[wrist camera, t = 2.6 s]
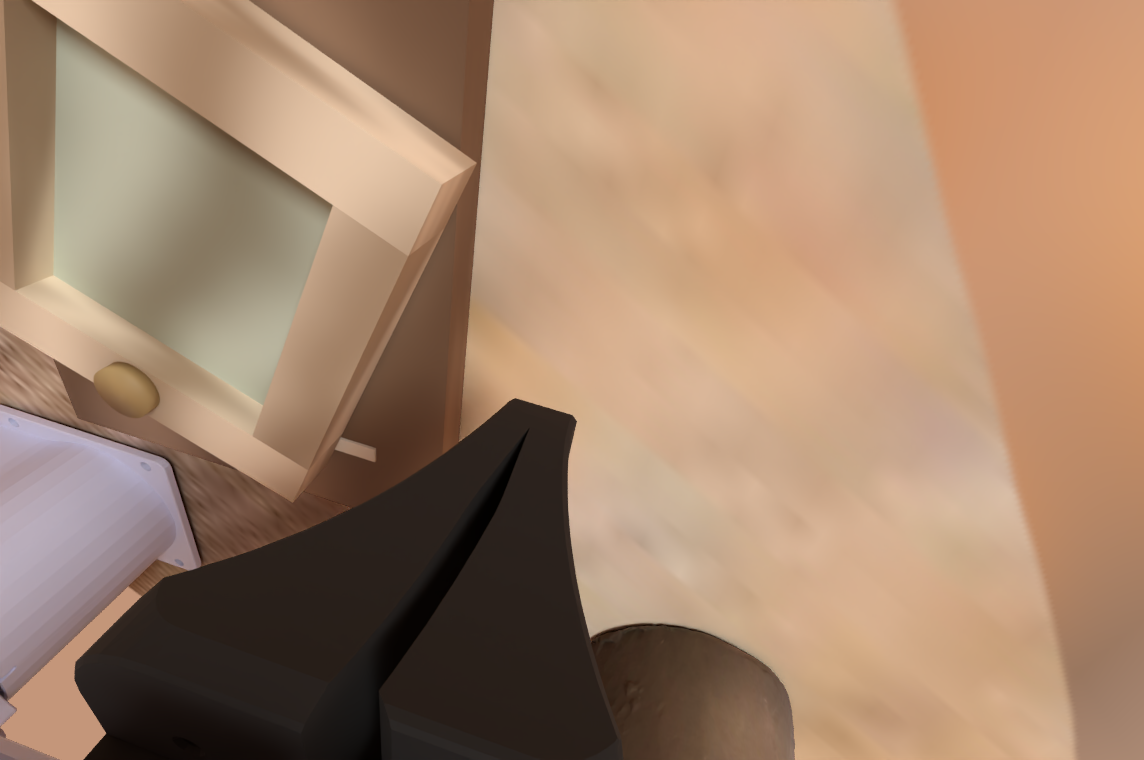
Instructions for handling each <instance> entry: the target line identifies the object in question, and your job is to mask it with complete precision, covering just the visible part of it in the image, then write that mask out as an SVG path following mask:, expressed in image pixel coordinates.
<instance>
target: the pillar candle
mask: <svg viewBox="0 0 1144 760" xmlns="http://www.w3.org/2000/svg"><path fill="white" fill-rule="evenodd" d="M591 645H592V649H593V653H594V656H595V659H596V663H597V666H598V669H599V673H600V676H601V680H602V683H603V686H604V689H605V692H606V695H607V698H608V701H609V704H610V707H611V710H612V713H613V715H614V718H615V721H616V724H617V727H618V729H619V732H620V735H621V740H622V750H623V758H624V760H795V756H794V749H795V741H794V728H793V720H792V710H791V705H790V700H789V697H788V694H787V691H786V689H785V687H784V685H783V684H782V683H781V682H780V681H779V678H778V677H777V676H776V675H775V674H774V673H773V672H772V671H771V669H770V668H768V667H767V666H766V665H764V664H763V663H762V662H760V661H759V660H757V659H756V658H754V657H752V656H750V655H749V654H747V653H745V652H743V651H741V650H740V649H738V648H736V647H734V646H732V645H730V644H728V643H726V642H724V641H722V640H720V639H718V638H715V637H713V636H711V635H707V634H705V633H702V632H697V631H691V630H689V629H685V628H675V627H667V626H666V625H661V626H655V625H654V626H639V627H628V628H626V629H623V630H618V631H616V632H610V633H606V634H604V635H600V636H599V637H596V638H595V639H594V640H593V641H592V643H591Z"/></svg>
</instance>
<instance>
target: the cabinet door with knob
mask: <svg viewBox="0 0 1144 760" xmlns="http://www.w3.org/2000/svg"><path fill="white" fill-rule="evenodd" d="M476 164H477V163H476V162H475V161H473V160H472V159H471V158H469V157H468V156H466V155H465V154H464V153H462V152H461V151H459V150H458V149H457V148H455V147H454V146H452V145H451V144H450V143H448V142H447V141H445V140H444V139H443V138H441V137H440V136H438V135H437V134H436V133H434V132H433V131H431V130H430V129H429V128H427V127H426V126H424V125H423V124H422V123H420V122H419V121H417V120H416V119H415V118H413V117H412V116H410V115H409V114H408V113H406V112H405V111H403V110H402V109H401V108H399V107H398V106H396V105H395V104H394V103H392V102H391V101H389V100H388V99H387V98H385V97H384V96H382V95H381V94H380V93H378V92H377V91H375V90H374V89H373V88H371V87H370V86H368V85H367V84H366V83H364V82H363V81H361V80H360V79H359V78H357V77H356V76H354V75H353V74H352V73H350V72H349V71H347V70H346V69H345V68H343V67H342V66H340V65H339V64H338V63H336V62H335V61H333V60H332V59H331V58H329V57H328V56H326V55H325V54H324V53H322V52H321V51H319V50H318V49H317V48H315V47H314V46H312V45H311V44H310V43H308V42H307V41H305V40H304V39H303V38H301V37H300V36H298V35H297V34H296V33H294V32H293V31H291V30H290V29H288V28H287V27H286V26H284V25H283V24H281V23H280V22H279V21H277V20H276V19H274V18H273V17H272V16H270V15H269V14H267V13H266V12H265V11H263V10H262V9H260V8H259V7H258V6H256V5H255V4H253V3H252V2H251V1H249V0H0V327H2V328H4V329H5V330H7V331H9V332H10V333H12V334H14V335H15V336H17V337H19V338H20V339H22V340H24V341H25V342H27V343H29V344H30V345H32V346H34V347H35V348H37V349H39V350H40V351H42V352H44V353H45V354H47V355H49V356H50V357H52V358H53V359H55V360H57V361H58V362H60V363H62V364H63V365H65V366H67V367H68V368H70V369H72V370H73V371H75V372H77V373H78V374H80V375H82V376H83V377H85V378H87V379H88V380H90V381H92V382H93V383H94V385H95V388H96V390H97V392H98V394H99V395H100V397H101V398H102V399H103V400H104V401H105V402H106V403H107V404H108V405H109V406H110V407H111V408H112V409H114V410H115V411H117V412H118V413H120V414H122V415H124V416H127V417H130V418H141V417H143V416H145V415H148V416H150V417H151V418H153V419H155V420H156V421H158V422H160V423H161V424H163V425H165V426H166V427H168V428H170V429H171V430H173V431H174V432H176V433H178V434H179V435H181V436H183V437H184V438H186V439H188V440H189V441H191V442H193V443H194V444H196V445H198V446H199V447H201V448H203V449H204V450H206V451H208V452H209V453H211V454H213V455H214V456H216V457H218V458H219V459H221V460H223V461H224V462H226V463H228V464H229V465H231V466H232V467H234V468H236V469H237V470H239V471H241V472H242V473H244V474H246V475H247V476H249V477H251V478H252V479H254V480H256V481H257V482H259V483H261V484H262V485H264V486H266V487H267V488H269V489H271V490H272V491H274V492H276V493H277V494H279V495H281V496H282V497H284V498H286V499H287V500H289V501H290V502H292V503H293V502H294V501H295V500H296V499H297V498H298V497H299V495H300V494H301V493H302V492H303V491H304V490H305V489H306V488H307V486H308V485H309V484H310V483H311V482H312V481H313V480H314V479H315V478H316V476H317V475H318V474H319V473H320V472H321V471H322V470H323V469H324V468H325V466H326V465H327V464H328V462H329V460H330V458H331V456H332V454H333V452H334V450H335V448H336V446H337V444H338V442H339V440H340V438H341V436H342V434H343V432H344V430H345V428H346V426H347V424H348V422H349V420H350V418H351V416H352V414H353V411H354V409H355V407H356V405H357V403H358V401H359V399H360V397H361V395H362V393H363V391H364V389H365V387H366V385H367V383H368V381H369V379H370V377H371V375H372V373H373V371H374V369H375V367H376V365H377V363H378V361H379V359H380V357H381V355H382V353H383V351H384V349H385V347H386V345H387V343H388V341H389V339H390V337H391V335H392V333H393V331H394V329H395V327H396V325H397V323H398V321H399V319H400V317H401V315H402V313H403V311H404V309H405V307H406V305H407V303H408V301H409V299H410V297H411V295H412V293H413V291H414V289H415V287H416V285H417V283H418V281H419V279H420V277H421V275H422V273H423V271H424V269H425V267H426V265H427V263H428V261H429V259H430V257H431V255H432V252H433V250H434V248H435V246H436V244H437V242H438V240H439V238H440V236H441V234H442V232H443V230H444V228H445V226H446V224H447V222H448V220H449V218H450V216H451V214H452V212H453V210H454V208H455V206H456V204H457V202H458V200H459V198H460V196H461V194H462V192H463V190H464V188H465V186H466V184H467V182H468V180H469V178H470V176H471V174H472V172H473V170H474V168H475V166H476Z"/></svg>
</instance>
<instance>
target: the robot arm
mask: <svg viewBox="0 0 1144 760" xmlns="http://www.w3.org/2000/svg"><path fill="white" fill-rule="evenodd" d="M576 422H577V421H576V420H575V418H574V417H573V415H570V414H566V413H563V412H560V411H556V410H553V409H550V408H546V407H543V406H540V405H536V404H533V403H529V402H526V401H523V400H519V399H516V398H515V399H513V400H511V401H509V402H508V403H507V404H506V405H505V406H503V407H502V408H501V409H500V410H499V411H498V412H497V413H495V414H494V415H493V416H492V417H491V418H490V419H488V420H487V421H486V422H485V423H484V424H482V425H481V426H480V427H479V428H477V429H476V430H475V431H474V432H472V433H471V434H470V435H468V436H467V437H466V438H464V439H463V440H462V441H460V442H459V443H458V444H456V445H455V446H454V447H452V448H451V449H450V450H448V451H447V452H445V453H444V454H443V455H441V456H440V457H438V458H437V459H435V460H434V461H432V462H431V463H429V464H428V465H426V466H425V467H423V468H422V469H420V470H419V471H417V472H416V473H414V474H413V475H411V476H409V477H408V478H406V479H405V480H403V481H401V482H400V483H398V484H396V485H395V486H393V487H391V488H389V489H388V490H386V491H384V492H382V493H380V494H379V495H377V496H375V497H373V498H371V499H369V500H368V501H366V502H364V503H362V504H360V505H358V506H356V507H354V508H352V509H350V510H348V511H346V512H344V513H341V514H339V515H337V516H335V517H333V518H331V519H329V520H327V521H325V522H322V523H320V524H318V525H316V526H313V527H311V528H309V529H307V530H304V531H301V532H299V533H296V534H294V535H291V536H289V537H286V538H284V539H281V540H278V541H276V542H273V543H271V544H268V545H266V546H263V547H261V548H258V549H255V550H252V551H250V552H247V553H244V554H241V555H238V556H235V557H232V558H229V559H225V560H222V561H219V562H216V563H212V564H209V565H206V566H203V567H200V566H201V560H200V557H199V554H198V550H197V547H196V544H195V541H194V538H193V534H192V531H191V528H190V525H189V522H188V518H187V515H186V512H185V509H184V505H183V502H182V499H181V496H180V493H179V489H178V486H177V483H176V480H175V477H174V473H173V470H172V467H171V465H170V463H169V462H168V461H167V460H165V459H164V458H162V457H159V456H156V455H153V454H150V453H147V452H144V451H141V450H138V449H135V448H132V447H129V446H126V445H123V444H120V443H117V442H114V441H110V440H107V439H104V438H101V437H98V436H95V435H92V434H89V433H86V432H83V431H80V430H77V429H74V428H71V427H68V426H65V425H62V424H59V423H56V422H52V421H49V420H46V419H43V418H40V417H37V416H34V415H31V414H28V413H25V412H22V411H19V410H16V409H13V408H10V407H7V406H4V405H1V404H0V727H1V726H2V725H3V724H4V723H5V722H6V721H7V720H8V719H9V718H10V717H11V716H12V715H13V714H14V713H15V712H16V711H17V709H16V708H15V707H14V706H12V705H11V704H10V703H9V702H7V701H8V700H9V699H10V698H11V697H12V696H13V695H15V694H16V693H17V692H18V691H19V690H20V689H21V688H22V687H23V686H24V685H25V684H26V683H27V682H28V681H29V680H30V679H31V678H32V677H33V676H34V675H36V674H37V672H39V671H40V670H41V669H42V668H43V667H44V666H45V665H46V664H47V663H48V662H49V661H50V660H51V659H52V658H53V657H54V656H55V655H57V654H58V653H59V652H60V651H61V650H62V649H63V648H64V647H65V646H66V645H67V644H68V643H69V642H70V641H71V640H72V639H73V638H74V637H75V636H77V635H78V633H80V632H81V631H82V630H83V629H84V628H85V627H86V626H87V625H88V624H89V623H90V622H91V621H92V620H93V619H94V618H95V617H96V616H98V614H100V612H102V610H104V609H105V608H106V607H107V606H108V605H109V604H110V603H111V602H112V601H113V600H114V599H115V598H116V597H117V596H118V595H120V594H121V592H123V591H124V590H125V589H126V588H127V587H128V586H129V585H130V584H131V583H132V582H133V581H134V580H135V579H136V578H137V577H138V576H140V575H141V574H142V573H143V572H144V571H145V570H146V569H147V568H148V567H149V566H150V565H151V564H152V563H153V562H154V561H155V560H156V559H157V560H160V561H163V562H166V563H169V564H172V565H175V566H178V567H180V568H183V569H186V570H189V571H186V572H183V573H180V574H176V575H172V576H169V577H165V578H163V579H162V580H161V581H160V582H159V583H158V584H156V585H155V586H154V587H153V588H152V589H151V590H149V591H148V592H147V593H146V594H145V595H143V596H142V597H141V598H140V599H139V600H138V601H137V602H136V603H135V604H134V605H133V606H132V607H131V608H130V609H129V610H128V611H126V613H124V614H123V615H122V617H120V619H118V620H117V622H116V623H114V624H113V626H111V627H110V628H109V630H107V631H106V632H105V633H104V634H103V635H102V636H101V638H99V639H98V640H97V642H95V643H94V644H93V645H92V646H91V647H90V648H89V650H87V652H85V653H84V654H83V656H81V657H80V658H79V659H78V660H77V661H76V664H75V682H76V684H77V686H78V689H79V691H80V693H81V694H82V696H83V697H84V699H85V700H86V702H87V704H88V705H89V707H90V708H91V710H92V711H93V713H94V715H95V716H96V717H97V719H98V721H99V722H100V724H101V725H102V727H103V729H104V730H105V732H106V735H105V736H104V737H103V738H102V739H101V740H100V741H99V743H98V744H97V745H96V746H95V747H94V748H93V749H92V751H91V752H90V753H89V754H88V755H87V756H86V757H85V759H84V760H624V758H623V750H622V740H621V735H620V732H619V729H618V727H617V724H616V721H615V718H614V715H613V713H612V710H611V707H610V704H609V701H608V698H607V695H606V692H605V689H604V686H603V683H602V680H601V676H600V673H599V669H598V666H597V663H596V659H595V656H594V653H593V649H592V645H591V641H590V637H589V633H588V629H587V625H586V621H585V617H584V613H583V609H582V605H581V600H580V595H579V590H578V584H577V579H576V574H575V567H574V561H573V554H572V547H571V538H570V528H569V515H568V458H569V453H570V448H571V444H572V440H573V435H574V431H575V427H576ZM0 760H59V759H57V758H54V757H52V756H49V755H47V754H44V753H41V752H39V751H37V750H34V749H32V748H29V747H26V746H24V745H21V744H19V743H17V742H14V741H12V740H9V739H7V738H6V735H5V733H4V731H3V730H2V729H0Z"/></svg>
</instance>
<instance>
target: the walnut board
mask: <svg viewBox="0 0 1144 760" xmlns="http://www.w3.org/2000/svg"><path fill="white" fill-rule="evenodd" d="M249 1H251V2H252V3H253V4H255V5H256V6H258V7H259V8H260V9H262V10H263V11H265V12H266V13H267V14H269V15H270V16H272V17H273V18H274V19H276V20H277V21H279V22H280V23H281V24H283V25H284V26H286V27H287V28H288V29H290V30H291V31H293V32H294V33H296V34H297V35H298V36H300V37H301V38H303V39H304V40H305V41H307V42H308V43H310V44H311V45H312V46H314V47H315V48H317V49H318V50H319V51H321V52H322V53H324V54H325V55H326V56H328V57H329V58H331V59H332V60H333V61H335V62H336V63H338V64H339V65H340V66H342V67H343V68H345V69H346V70H347V71H349V72H350V73H352V74H353V75H354V76H356V77H357V78H359V79H360V80H361V81H363V82H364V83H366V84H367V85H368V86H370V87H371V88H373V89H374V90H375V91H377V92H378V93H380V94H381V95H382V96H384V97H385V98H387V99H388V100H389V101H391V102H392V103H394V104H395V105H396V106H398V107H399V108H401V109H402V110H403V111H405V112H406V113H408V114H409V115H410V116H412V117H413V118H415V119H416V120H417V121H419V122H420V123H422V124H423V125H424V126H426V127H427V128H429V129H430V130H431V131H433V132H434V133H436V134H437V135H438V136H440V137H441V138H443V139H444V140H445V141H447V142H448V143H450V144H451V145H452V146H454V147H455V148H457V149H458V150H459V151H461V152H462V153H464V154H465V155H466V156H468V157H469V158H471V159H472V160H473V161H475V162H476V163H477V164H476V166H475V168H474V170H473V172H472V174H471V176H470V178H469V180H468V182H467V184H466V186H465V188H464V190H463V192H462V194H461V196H460V198H459V200H458V202H457V204H456V206H455V208H454V210H453V212H452V214H451V216H450V218H449V220H448V222H447V224H446V226H445V228H444V230H443V232H442V234H441V236H440V238H439V240H438V242H437V244H436V246H435V248H434V250H433V252H432V255H431V257H430V259H429V261H428V263H427V265H426V267H425V269H424V271H423V273H422V275H421V277H420V279H419V281H418V283H417V285H416V287H415V289H414V291H413V293H412V295H411V297H410V299H409V301H408V303H407V305H406V307H405V309H404V311H403V313H402V315H401V317H400V319H399V321H398V323H397V325H396V327H395V329H394V331H393V333H392V335H391V337H390V339H389V341H388V343H387V345H386V347H385V349H384V351H383V353H382V355H381V357H380V359H379V361H378V363H377V365H376V367H375V369H374V371H373V373H372V375H371V377H370V379H369V381H368V383H367V385H366V387H365V389H364V391H363V393H362V395H361V397H360V399H359V401H358V403H357V405H356V407H355V409H354V411H353V414H352V416H351V418H350V420H349V422H348V424H347V426H346V428H345V430H344V432H343V434H342V436H341V438H340V440H339V442H338V444H337V446H336V448H335V450H334V452H333V454H332V456H331V458H330V460H329V462H328V464H327V465H326V466H325V468H324V469H323V470H322V471H321V472H320V473H319V474H318V475H317V476H316V478H315V479H314V480H313V481H312V482H311V483H310V484H309V485H308V486H307V488H306V489H305V490H304V491H303V492H306V493H309V494H312V495H315V496H318V497H322V498H325V499H328V500H331V501H334V502H337V503H340V504H343V505H346V506H349V507H352V508H354V507H356V506H358V505H360V504H362V503H364V502H366V501H368V500H369V499H371V498H373V497H375V496H377V495H379V494H380V493H382V492H384V491H386V490H388V489H389V488H391V487H393V486H395V485H396V484H398V483H400V482H401V481H403V480H405V479H406V478H408V477H409V476H411V475H413V474H414V473H416V472H417V471H419V470H420V469H422V468H423V467H425V466H426V465H428V464H429V463H431V462H432V461H434V460H435V459H437V458H438V457H440V456H441V455H443V454H444V453H445V452H447V451H448V450H450V449H451V448H452V447H454V446H455V445H456V444H458V443H459V430H460V418H461V405H462V393H463V380H464V368H465V355H466V343H467V330H468V317H469V305H470V292H471V280H472V267H473V255H474V242H475V230H476V217H477V205H478V192H479V179H480V167H481V154H482V142H483V129H484V117H485V104H486V92H487V79H488V66H489V54H490V41H491V29H492V16H493V4H494V0H249ZM54 362H55V364H56V366H57V369H58V371H59V374H60V376H61V379H62V381H63V383H64V386H65V388H66V391H67V393H68V396H69V398H70V400H71V403H72V405H73V408H74V410H75V412H76V415H77V417H78V418H79V419H82V420H85V421H88V422H91V423H94V424H97V425H100V426H103V427H106V428H109V429H112V430H116V431H119V432H122V433H125V434H128V435H131V436H134V437H137V438H140V439H143V440H146V441H149V442H152V443H156V444H159V445H162V446H165V447H168V448H171V449H174V450H177V451H180V452H183V453H186V454H189V455H192V456H196V457H199V458H202V459H205V460H208V461H211V462H214V463H217V464H220V465H223V466H226V467H229V468H232V469H235V470H237V469H236V468H234V467H232V466H231V465H229V464H228V463H226V462H224V461H223V460H221V459H219V458H218V457H216V456H214V455H213V454H211V453H209V452H208V451H206V450H204V449H203V448H201V447H199V446H198V445H196V444H194V443H193V442H191V441H189V440H188V439H186V438H184V437H183V436H181V435H179V434H178V433H176V432H174V431H173V430H171V429H170V428H168V427H166V426H165V425H163V424H161V423H160V422H158V421H156V420H155V419H153V418H151V417H150V416H148V415H145V416H143V417H141V418H130V417H127V416H124V415H122V414H120V413H118V412H117V411H115V410H114V409H112V408H111V407H110V406H109V405H108V404H107V403H106V402H105V401H104V400H103V399H102V398H101V397H100V395H99V394H98V392H97V390H96V388H95V385H94V383H93V382H92V381H90V380H88V379H87V378H85V377H83V376H82V375H80V374H78V373H77V372H75V371H73V370H72V369H70V368H68V367H67V366H65V365H63V364H62V363H60V362H58V361H57V360H55V359H54Z"/></svg>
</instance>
